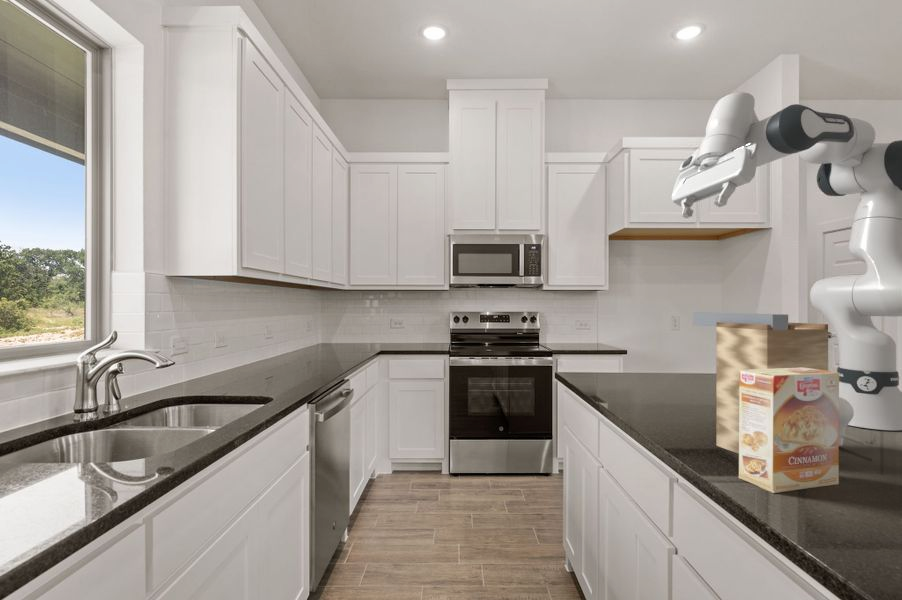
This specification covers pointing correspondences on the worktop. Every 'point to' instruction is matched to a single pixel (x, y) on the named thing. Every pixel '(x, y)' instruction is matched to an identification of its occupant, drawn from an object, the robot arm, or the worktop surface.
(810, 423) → the coffeecake box
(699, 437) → the worktop surface
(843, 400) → the lightbulb
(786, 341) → the riser block
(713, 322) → the grey rectangular bar
